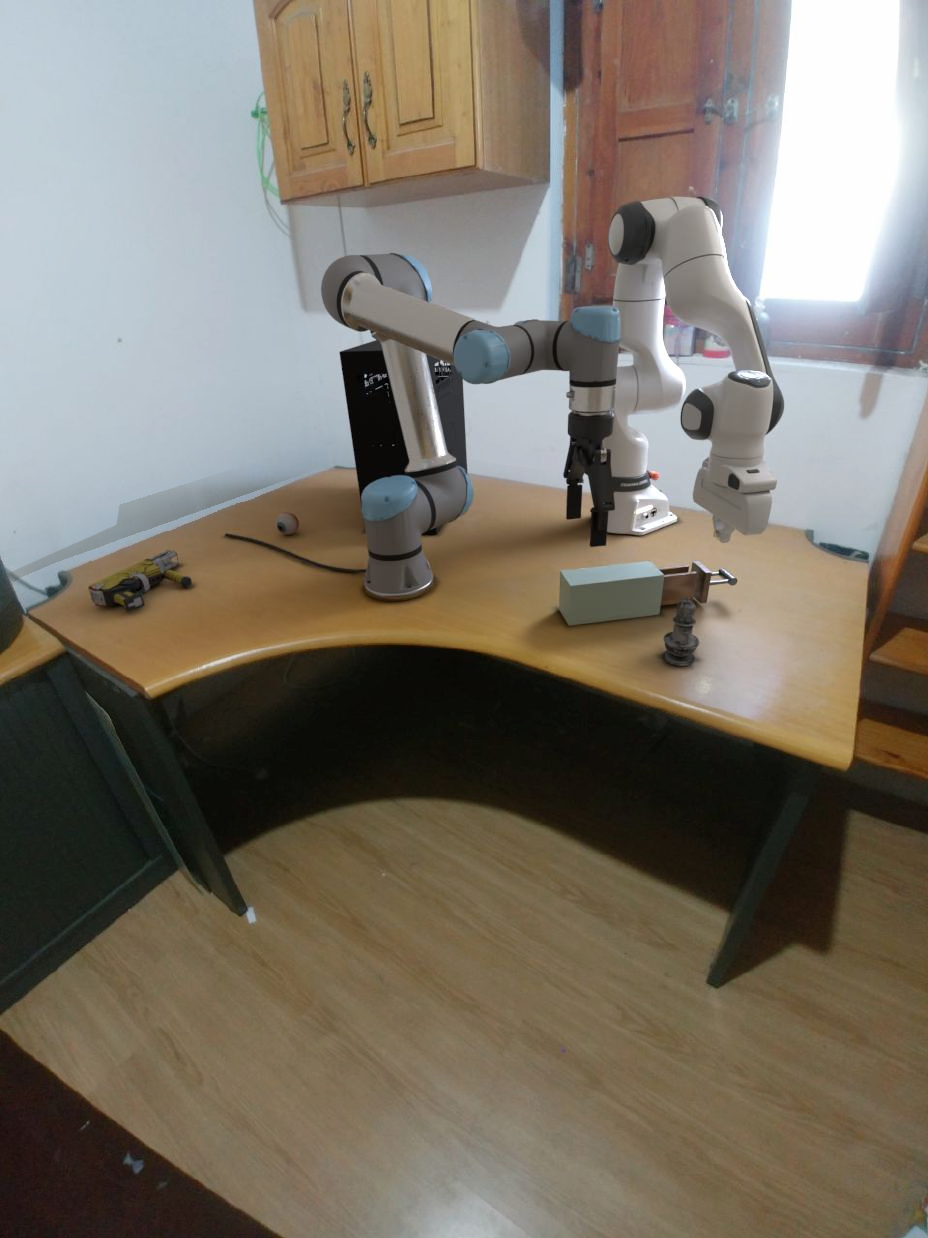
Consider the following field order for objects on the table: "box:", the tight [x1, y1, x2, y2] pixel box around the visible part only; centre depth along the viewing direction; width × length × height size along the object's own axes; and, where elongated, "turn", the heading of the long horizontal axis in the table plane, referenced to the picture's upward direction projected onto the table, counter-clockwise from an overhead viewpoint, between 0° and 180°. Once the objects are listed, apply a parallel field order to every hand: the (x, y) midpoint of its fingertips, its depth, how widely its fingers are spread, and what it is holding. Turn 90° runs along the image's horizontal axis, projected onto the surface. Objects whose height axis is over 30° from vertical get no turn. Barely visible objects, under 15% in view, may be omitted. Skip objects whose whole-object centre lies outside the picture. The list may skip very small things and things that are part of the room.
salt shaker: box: [662, 596, 700, 667], centre depth 102 cm, size 6×6×12 cm
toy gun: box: [87, 549, 193, 614], centre depth 138 cm, size 5×24×15 cm
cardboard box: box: [339, 339, 468, 535], centre depth 166 cm, size 38×20×45 cm, turn 167°
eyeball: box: [275, 511, 300, 536], centre depth 163 cm, size 6×6×6 cm
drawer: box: [657, 560, 738, 606], centre depth 119 cm, size 23×6×7 cm, turn 99°
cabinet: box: [558, 560, 664, 626], centre depth 118 cm, size 18×7×9 cm, turn 99°
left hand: (584, 531), depth 110 cm, fingers open, 13 cm apart
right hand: (721, 539), depth 116 cm, fingers closed
